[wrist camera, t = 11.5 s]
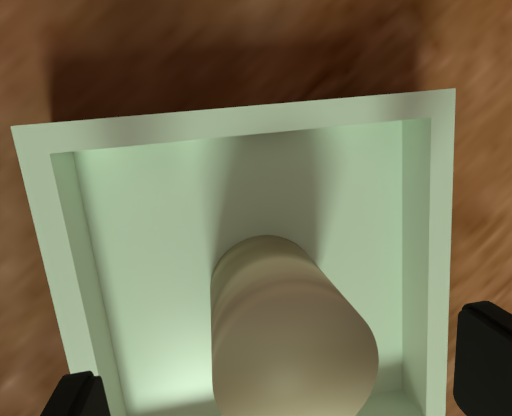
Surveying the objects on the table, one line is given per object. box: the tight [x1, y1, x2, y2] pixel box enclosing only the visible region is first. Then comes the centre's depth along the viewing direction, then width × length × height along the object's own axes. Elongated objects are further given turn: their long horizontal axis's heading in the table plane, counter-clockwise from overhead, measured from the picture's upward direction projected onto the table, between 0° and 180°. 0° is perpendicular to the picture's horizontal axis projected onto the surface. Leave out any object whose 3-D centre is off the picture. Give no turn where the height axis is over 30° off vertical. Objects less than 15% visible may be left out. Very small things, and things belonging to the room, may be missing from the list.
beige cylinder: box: [210, 235, 379, 416], centre depth 13 cm, size 5×5×6 cm
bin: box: [11, 88, 456, 416], centre depth 15 cm, size 16×16×3 cm
